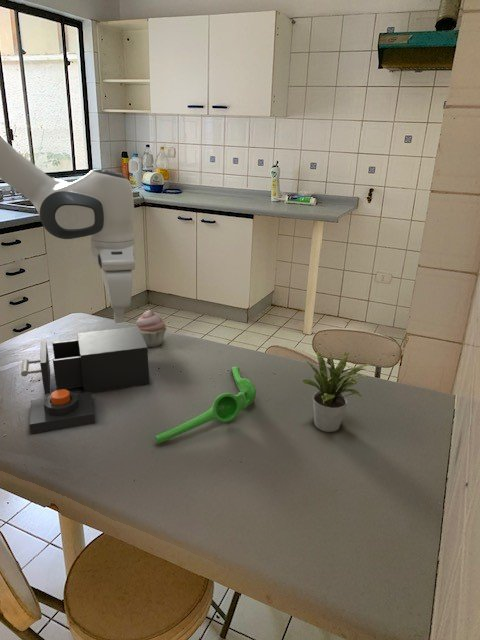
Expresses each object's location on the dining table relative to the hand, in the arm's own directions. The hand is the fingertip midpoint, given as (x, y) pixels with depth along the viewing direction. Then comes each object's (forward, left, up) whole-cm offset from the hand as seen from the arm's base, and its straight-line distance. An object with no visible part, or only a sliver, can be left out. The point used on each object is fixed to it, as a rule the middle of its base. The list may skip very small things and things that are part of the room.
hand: (116, 313), depth 101 cm
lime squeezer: (+19, -17, -18) cm, 31 cm away
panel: (-13, -9, -18) cm, 24 cm away
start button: (-13, -9, -14) cm, 21 cm away
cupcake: (+11, +21, -18) cm, 30 cm away
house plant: (+38, -30, -18) cm, 52 cm away
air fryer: (-1, +5, -18) cm, 19 cm away
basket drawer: (-12, +5, -17) cm, 21 cm away
